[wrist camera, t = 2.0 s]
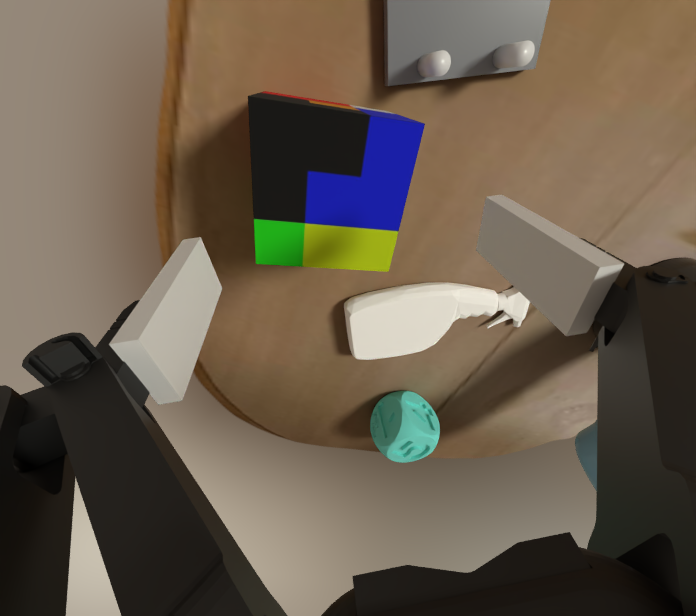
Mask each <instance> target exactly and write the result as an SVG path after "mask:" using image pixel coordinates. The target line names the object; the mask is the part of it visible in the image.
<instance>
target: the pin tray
mask: <svg viewBox="0 0 696 616" xmlns="http://www.w3.org/2000/svg"><path fill="white" fill-rule="evenodd" d="M549 4H550V0H384V67H385V86H394V85H402V84H411V83H419V82H427V81H436V80H444V79H452V78H461V77H469V76H477V75H486V74H494V73H502V72H511V71H519V70H527V69H535V67H536V62H537V58H538V53H539V49H540V44H541V40H542V35H543V31H544V27H545V22H546V18H547V13H548V9H549Z"/></svg>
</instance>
